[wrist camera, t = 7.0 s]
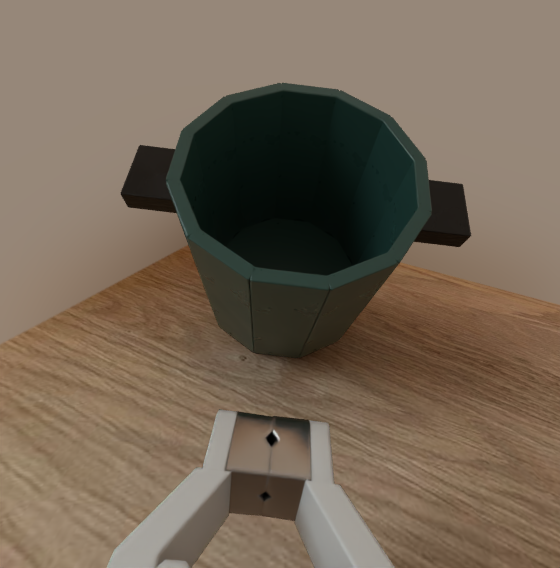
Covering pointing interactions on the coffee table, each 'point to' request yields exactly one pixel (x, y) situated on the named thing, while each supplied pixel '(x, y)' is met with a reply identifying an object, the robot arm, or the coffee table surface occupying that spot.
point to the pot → (295, 210)
